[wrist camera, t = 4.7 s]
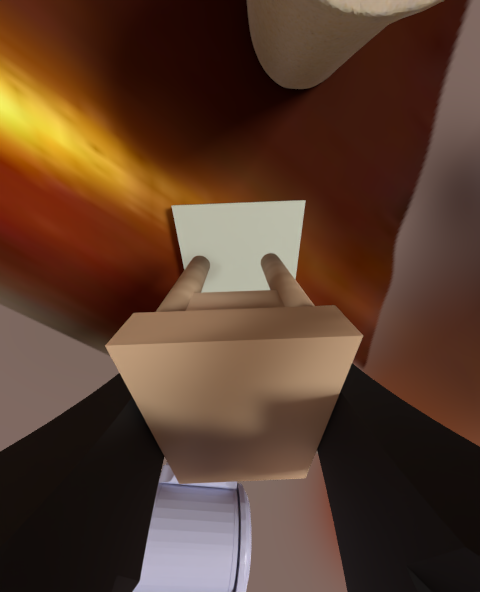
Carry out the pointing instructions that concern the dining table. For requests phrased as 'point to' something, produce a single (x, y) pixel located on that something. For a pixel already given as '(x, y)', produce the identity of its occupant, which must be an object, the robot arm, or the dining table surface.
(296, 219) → the board
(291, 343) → the stool
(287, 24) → the flower pot
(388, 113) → the dining table surface
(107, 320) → the dining table surface
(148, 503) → the robot arm
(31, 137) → the dining table surface
